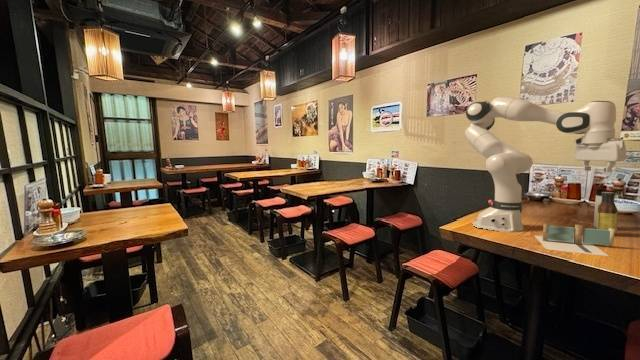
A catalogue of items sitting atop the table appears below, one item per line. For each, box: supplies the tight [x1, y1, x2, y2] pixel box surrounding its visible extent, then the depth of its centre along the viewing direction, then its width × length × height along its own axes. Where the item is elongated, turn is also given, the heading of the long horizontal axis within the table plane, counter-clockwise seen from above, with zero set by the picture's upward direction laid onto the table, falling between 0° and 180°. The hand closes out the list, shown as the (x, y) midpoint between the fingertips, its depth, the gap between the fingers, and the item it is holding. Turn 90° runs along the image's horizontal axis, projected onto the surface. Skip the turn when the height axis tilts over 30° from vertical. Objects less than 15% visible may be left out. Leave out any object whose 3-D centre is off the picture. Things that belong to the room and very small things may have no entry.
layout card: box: [533, 235, 609, 257], centre depth 108 cm, size 18×19×1 cm
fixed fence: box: [542, 222, 584, 245], centre depth 110 cm, size 13×2×8 cm, turn 62°
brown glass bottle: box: [592, 188, 616, 229], centre depth 127 cm, size 6×7×20 cm
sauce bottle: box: [597, 192, 619, 237], centre depth 118 cm, size 7×6×20 cm
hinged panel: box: [582, 227, 615, 247], centre depth 105 cm, size 9×2×7 cm, turn 62°
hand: (597, 171), depth 112 cm, fingers open, 8 cm apart
